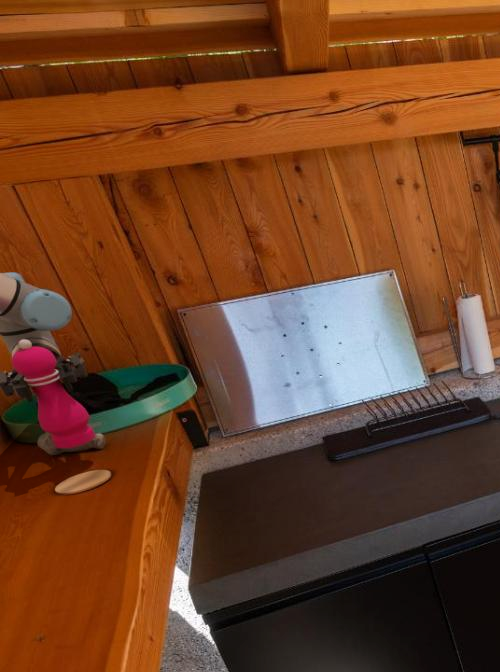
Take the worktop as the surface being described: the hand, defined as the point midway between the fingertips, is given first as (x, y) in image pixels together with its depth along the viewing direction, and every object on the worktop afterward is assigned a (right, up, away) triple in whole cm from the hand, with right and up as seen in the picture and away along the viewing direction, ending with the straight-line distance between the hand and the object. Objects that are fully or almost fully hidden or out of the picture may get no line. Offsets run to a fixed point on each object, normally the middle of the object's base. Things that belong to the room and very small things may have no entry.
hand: (47, 389), depth 133 cm
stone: (-9, -11, +17) cm, 22 cm away
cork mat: (+3, -16, +5) cm, 17 cm away
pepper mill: (-2, -9, +9) cm, 13 cm away
